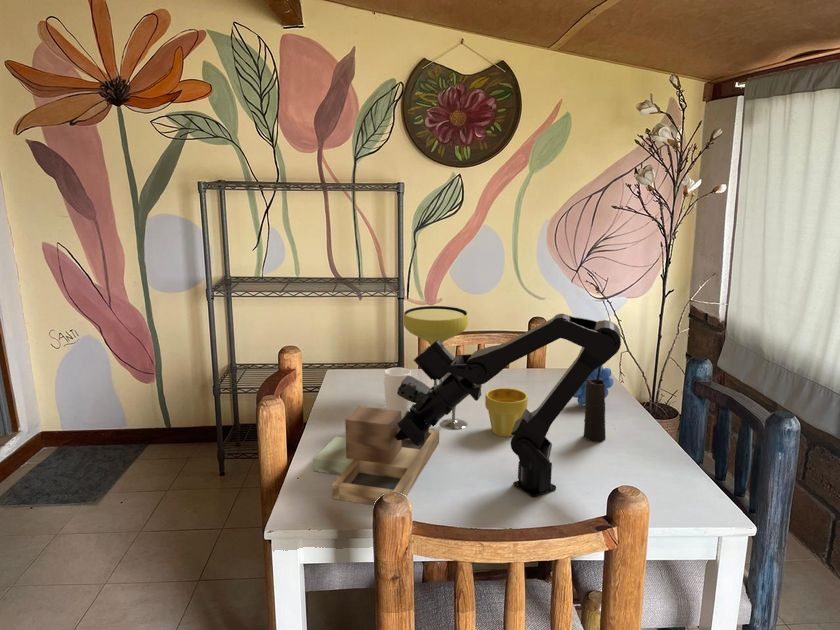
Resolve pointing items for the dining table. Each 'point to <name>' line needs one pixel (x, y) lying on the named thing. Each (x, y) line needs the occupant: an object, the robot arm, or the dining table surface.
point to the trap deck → (374, 470)
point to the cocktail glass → (435, 323)
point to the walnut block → (372, 435)
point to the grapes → (603, 376)
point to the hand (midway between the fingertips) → (396, 438)
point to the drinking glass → (395, 389)
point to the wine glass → (452, 423)
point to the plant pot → (505, 409)
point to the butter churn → (595, 410)
